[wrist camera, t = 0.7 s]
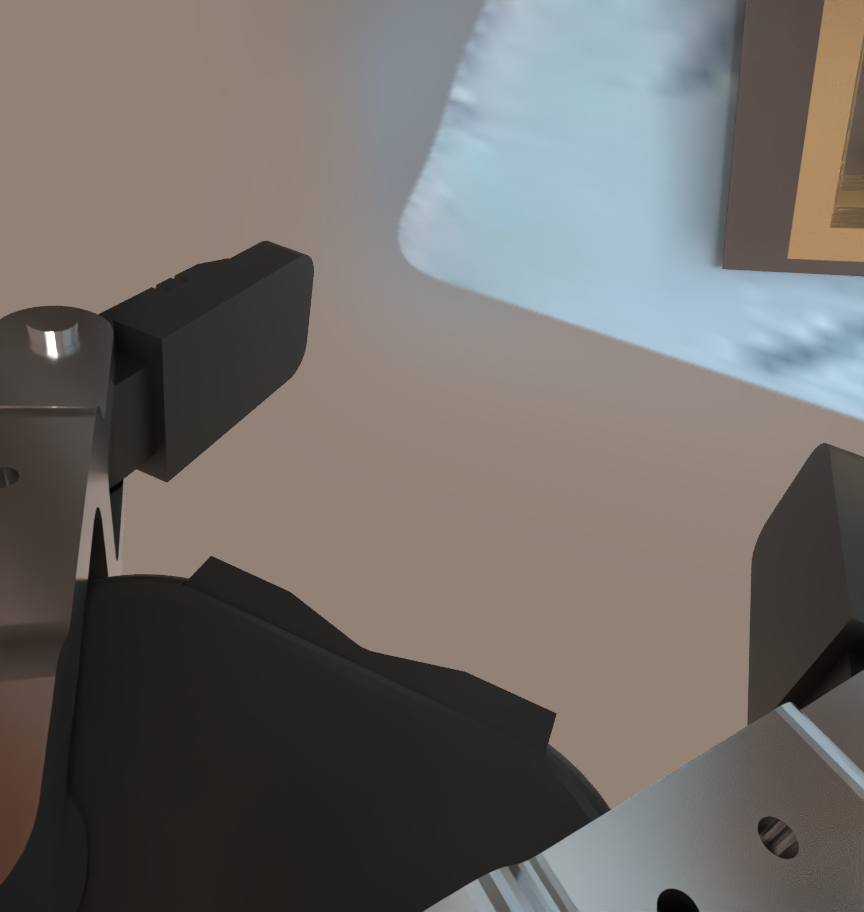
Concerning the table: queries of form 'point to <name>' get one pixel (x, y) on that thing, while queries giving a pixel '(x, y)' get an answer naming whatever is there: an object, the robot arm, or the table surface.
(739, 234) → the collar stand
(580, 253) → the table surface
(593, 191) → the table surface
